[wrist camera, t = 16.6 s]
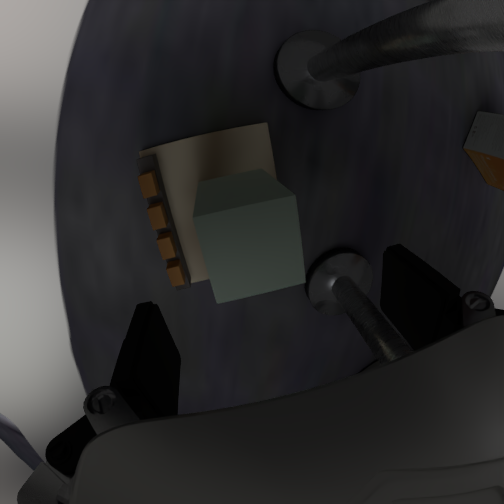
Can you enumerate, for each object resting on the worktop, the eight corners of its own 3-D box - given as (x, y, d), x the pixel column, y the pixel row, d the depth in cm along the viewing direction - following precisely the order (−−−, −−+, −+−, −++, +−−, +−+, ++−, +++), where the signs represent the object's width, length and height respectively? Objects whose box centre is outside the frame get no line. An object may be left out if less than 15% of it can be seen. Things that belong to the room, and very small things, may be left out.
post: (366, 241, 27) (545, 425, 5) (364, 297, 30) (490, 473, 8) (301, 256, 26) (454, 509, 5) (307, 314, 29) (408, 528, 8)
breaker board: (264, 122, 21) (275, 121, 17) (285, 255, 26) (297, 276, 23) (141, 150, 20) (129, 155, 17) (179, 280, 25) (176, 303, 22)
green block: (261, 168, 21) (295, 195, 13) (271, 227, 24) (305, 282, 16) (198, 182, 21) (192, 217, 13) (212, 240, 23) (217, 303, 15)
